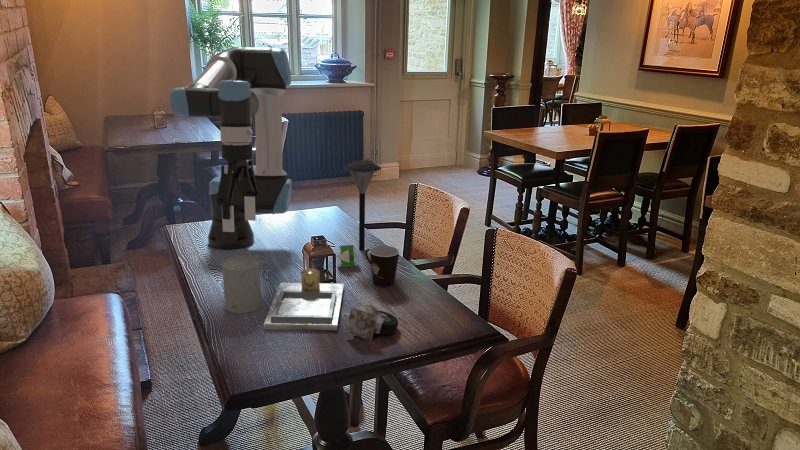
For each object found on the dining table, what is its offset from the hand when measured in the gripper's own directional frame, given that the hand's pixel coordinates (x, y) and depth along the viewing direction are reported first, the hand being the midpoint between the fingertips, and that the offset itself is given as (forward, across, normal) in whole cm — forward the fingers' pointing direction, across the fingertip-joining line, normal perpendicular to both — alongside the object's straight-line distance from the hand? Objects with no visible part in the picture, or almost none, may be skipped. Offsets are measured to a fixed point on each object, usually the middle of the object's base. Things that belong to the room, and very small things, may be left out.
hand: (240, 225), depth 148 cm
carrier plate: (+22, +1, -17) cm, 28 cm away
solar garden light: (+17, +45, -23) cm, 54 cm away
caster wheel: (+23, -7, -37) cm, 44 cm away
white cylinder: (+22, -1, 0) cm, 22 cm away
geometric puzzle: (+19, +31, -21) cm, 42 cm away
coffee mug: (+20, +22, -34) cm, 45 cm away
